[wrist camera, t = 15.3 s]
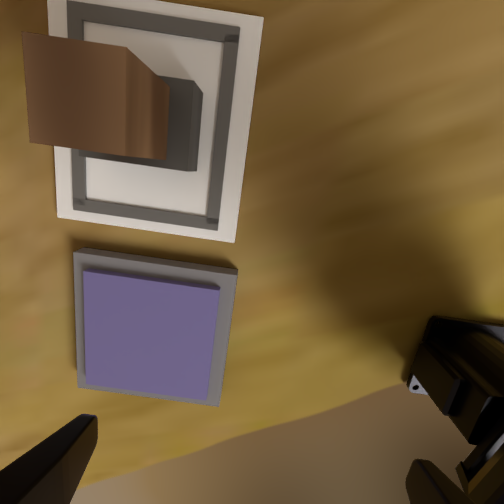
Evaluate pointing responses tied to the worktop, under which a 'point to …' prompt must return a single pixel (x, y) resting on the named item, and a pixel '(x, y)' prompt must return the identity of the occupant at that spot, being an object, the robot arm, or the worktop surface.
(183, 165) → the stamp
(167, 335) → the ink pad
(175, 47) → the marked card
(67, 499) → the robot arm
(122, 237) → the worktop surface
